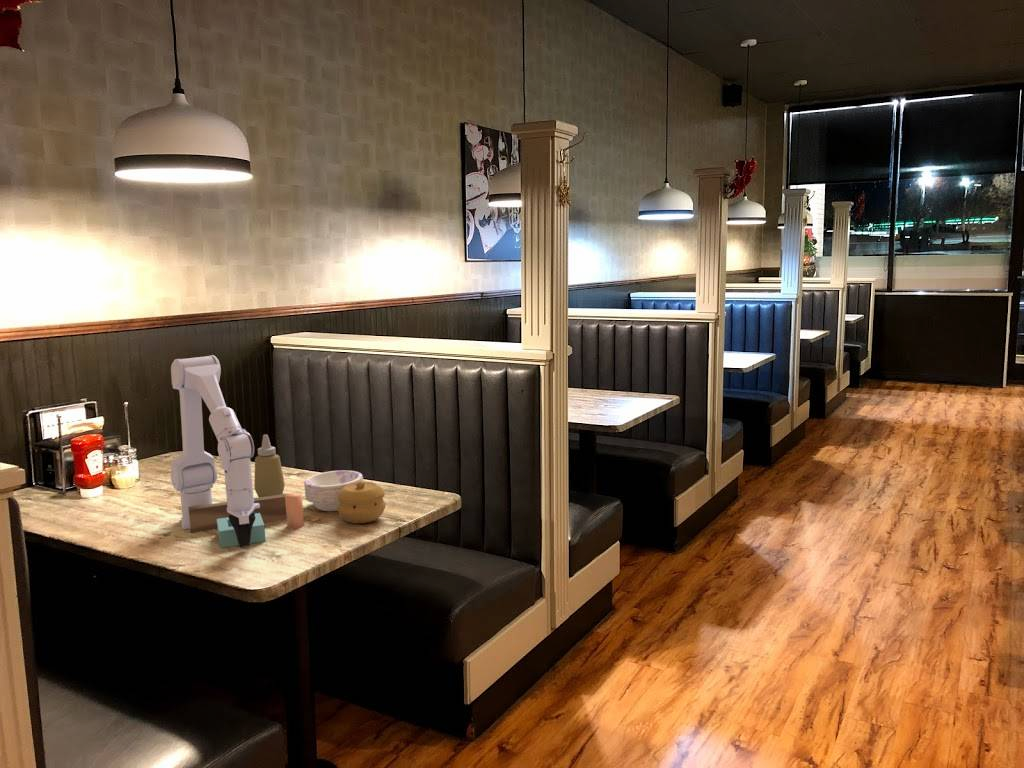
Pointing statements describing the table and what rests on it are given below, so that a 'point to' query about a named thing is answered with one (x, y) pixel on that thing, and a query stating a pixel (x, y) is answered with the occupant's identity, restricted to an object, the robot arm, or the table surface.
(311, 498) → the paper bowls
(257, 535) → the sliding block
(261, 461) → the squeeze bottle
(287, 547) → the table surface
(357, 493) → the pot
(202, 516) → the backstop wall
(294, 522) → the dowel
